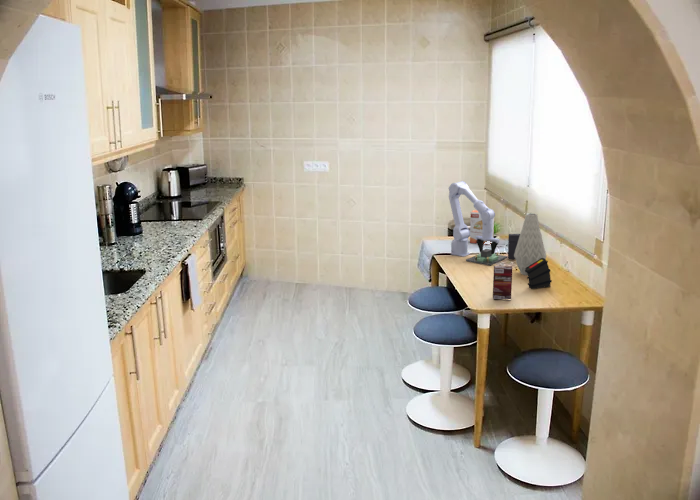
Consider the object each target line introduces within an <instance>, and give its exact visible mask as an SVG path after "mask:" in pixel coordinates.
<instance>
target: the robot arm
mask: <svg viewBox="0 0 700 500" xmlns="http://www.w3.org/2000/svg"><path fill="white" fill-rule="evenodd" d="M448 191H449V193H448V199H449V205H450V208H451V212H452V213H451V214H452V217H453V222H454V227H453V229H452V231H453V232H452V235H453V240H452V241H451V242H450V243H451V244H450V247H451V249H450V252H451V253H450V255H453V256H458V257H466V256H468V255H471V252H468V250H469V249H468V245H469V243H468V241H469V239H470V228H469V227H468V225H467V224H466V223H465V221H464V218H463V217H464V216H463V212H462V207H461V203H460V197H461V195H462V196H465V197H466V198H467V199H468V200H469V201H470V202H471V203H472V204H473V208H474V210H477V211H478V212H479V213H480V214H481V219H482V222H483V229H482V236H476V240H477V241H476V243H475V244H477V247H478V250H479V253H481V251H482V250H484V244H483V243H484V241H490V242H492V243H490V244H491V245H490V249H491V254H495V252H496V248H497V246H498V244H500V239H499V238H495V237H494V236H493V237H492V232H493V218H494V219H495V216H496V213H495V211H494V209H493V208H490V207H488V206H487V205H486V204H485V201H483V200H481V199H478V198H477V196H476V194H474V193H473V191H472V190H471V189H470V186H469V185H468V184H467V183H466V181H464V180H460V181H456V182H452V183H451V184H450V185H449V186H448Z"/></svg>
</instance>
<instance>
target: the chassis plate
mask: <svg viewBox="0 0 700 500" xmlns="http://www.w3.org/2000/svg"><path fill="white" fill-rule="evenodd" d="M479 254H481V252H479ZM495 254H496V256H498V259H496V260H494V261H489V257H487V260H485V261H483V262H482V261H477V255H478V254H475V255H473V256H471V257H469V258H466V259H465V262H469V263H473V264H478V265H483V266H489V267H491V266H494V265H495V264H497V263H500V262H502V261H504V260H506V259H508V255H502V254H499V252H496V253H495Z"/></svg>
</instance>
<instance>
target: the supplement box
mask: <svg viewBox="0 0 700 500" xmlns="http://www.w3.org/2000/svg"><path fill="white" fill-rule="evenodd" d="M492 279H493V280H492V300H493V299H511V300H512V285H513V266H507V265H506V266H505V265H502V266H501V265H493V277H492Z"/></svg>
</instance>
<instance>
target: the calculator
mask: <svg viewBox="0 0 700 500" xmlns="http://www.w3.org/2000/svg"><path fill="white" fill-rule="evenodd" d="M519 237H520V233H508V239H507V240H508V242H507V243H508V244H507V245H508V246H507V248H508V249H507V256H508V258H507V259H508V260H509V261H516V259H515V257H514V253H515V249H516V247H517V243H518V240H519Z"/></svg>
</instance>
